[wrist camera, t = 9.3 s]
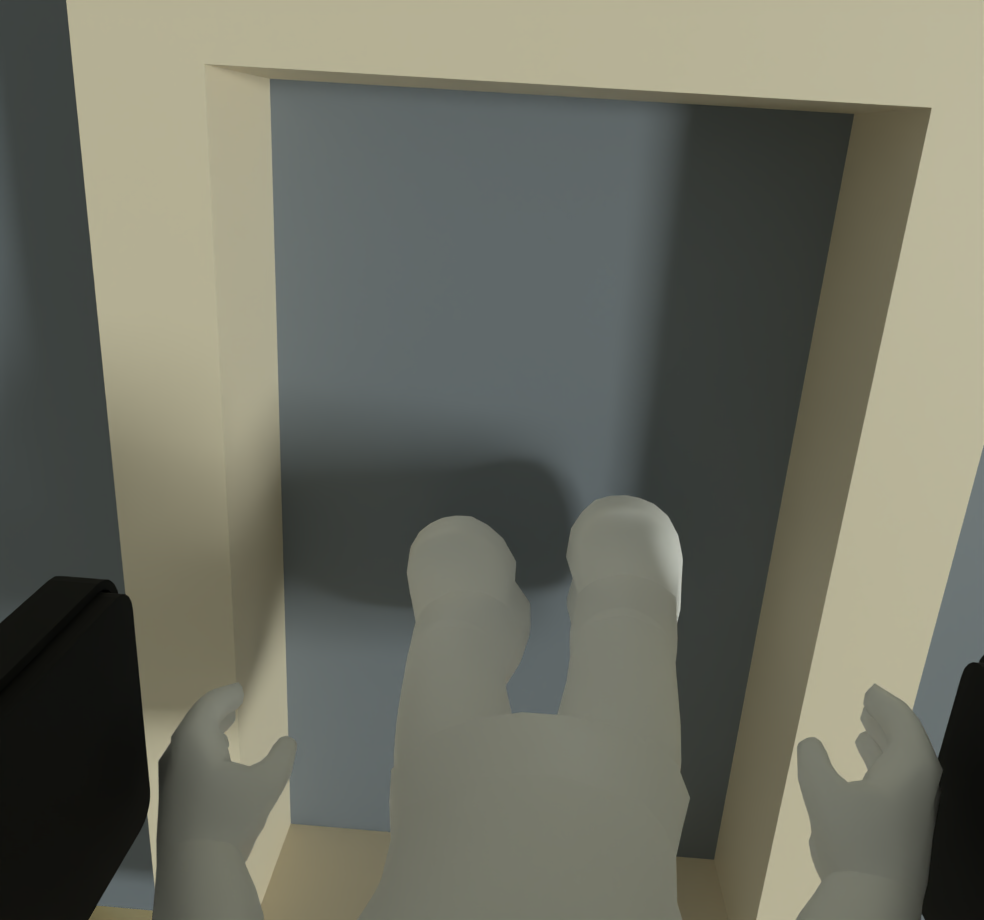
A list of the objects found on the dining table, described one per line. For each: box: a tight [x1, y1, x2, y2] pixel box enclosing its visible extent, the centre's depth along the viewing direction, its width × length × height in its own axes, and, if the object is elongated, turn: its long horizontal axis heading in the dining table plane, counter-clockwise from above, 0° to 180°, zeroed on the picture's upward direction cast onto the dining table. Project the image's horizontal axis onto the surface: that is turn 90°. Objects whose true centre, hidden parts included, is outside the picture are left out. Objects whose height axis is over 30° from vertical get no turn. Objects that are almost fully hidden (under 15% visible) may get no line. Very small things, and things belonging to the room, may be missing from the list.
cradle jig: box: [0, 0, 984, 920], centre depth 14 cm, size 22×18×4 cm
